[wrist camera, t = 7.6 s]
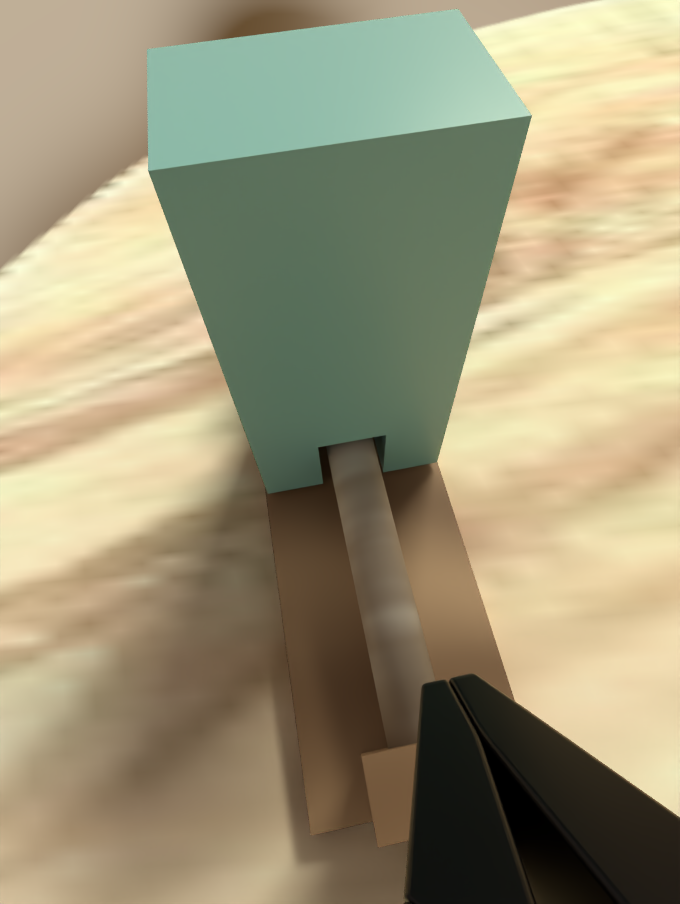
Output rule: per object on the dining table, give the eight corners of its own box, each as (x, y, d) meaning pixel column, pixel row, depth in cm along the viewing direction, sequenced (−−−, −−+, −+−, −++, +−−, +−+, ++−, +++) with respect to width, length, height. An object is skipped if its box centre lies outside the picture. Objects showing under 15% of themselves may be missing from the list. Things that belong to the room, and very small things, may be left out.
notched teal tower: (436, 462, 19) (531, 115, 8) (267, 493, 18) (148, 170, 8) (409, 376, 21) (458, 8, 10) (255, 403, 20) (147, 49, 10)
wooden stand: (532, 780, 15) (600, 795, 11) (313, 831, 14) (294, 867, 10) (387, 323, 24) (393, 232, 19) (248, 346, 23) (223, 259, 19)
